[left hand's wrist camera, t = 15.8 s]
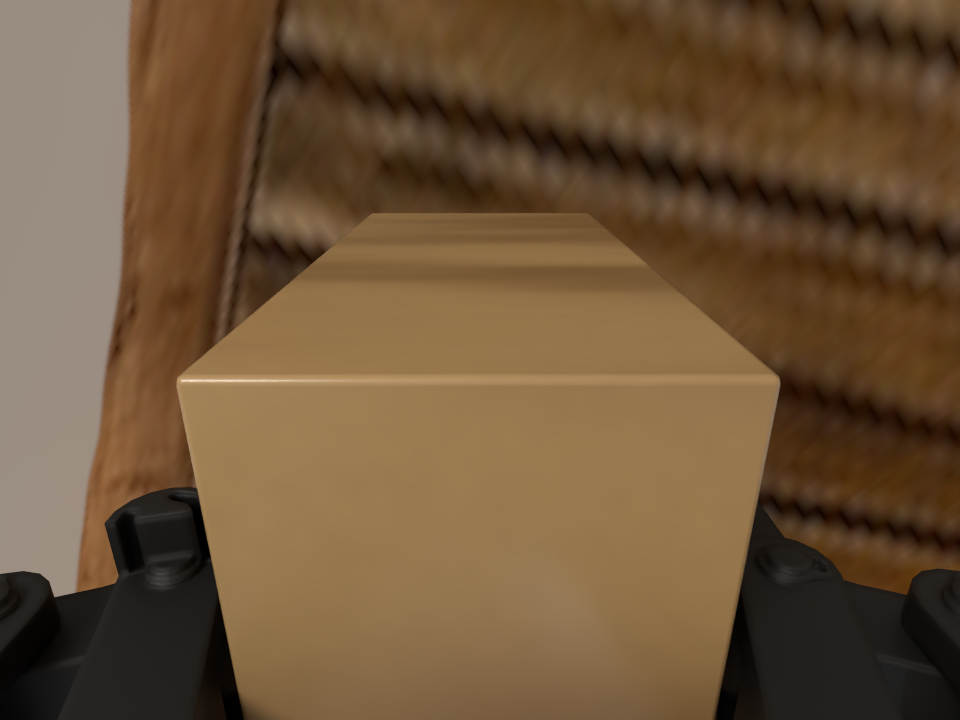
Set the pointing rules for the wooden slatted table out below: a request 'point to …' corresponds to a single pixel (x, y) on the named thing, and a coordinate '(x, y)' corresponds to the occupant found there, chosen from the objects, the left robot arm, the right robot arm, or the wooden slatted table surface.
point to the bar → (478, 479)
